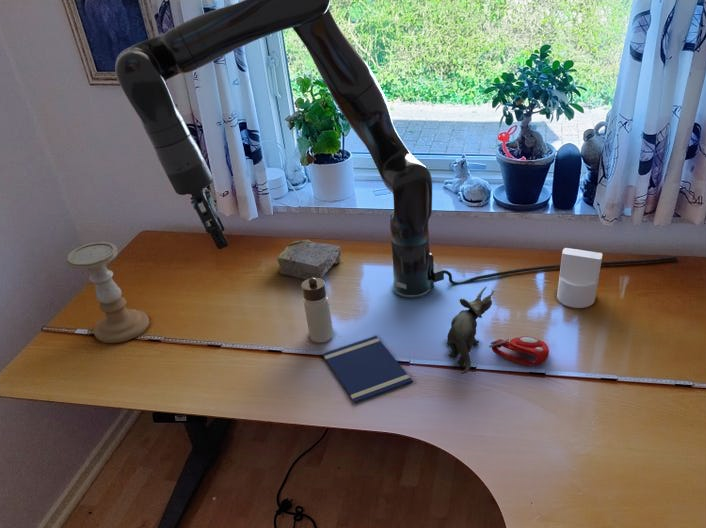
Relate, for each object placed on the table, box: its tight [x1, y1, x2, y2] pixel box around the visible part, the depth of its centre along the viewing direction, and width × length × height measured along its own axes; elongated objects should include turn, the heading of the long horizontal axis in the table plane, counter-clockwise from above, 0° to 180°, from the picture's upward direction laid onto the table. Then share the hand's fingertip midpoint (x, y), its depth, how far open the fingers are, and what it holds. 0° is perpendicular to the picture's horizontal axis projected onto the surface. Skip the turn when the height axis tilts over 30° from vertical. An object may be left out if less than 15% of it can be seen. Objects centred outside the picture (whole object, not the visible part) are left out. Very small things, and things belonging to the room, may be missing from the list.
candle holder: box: [65, 241, 150, 344], centre depth 142 cm, size 12×12×20 cm
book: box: [322, 335, 414, 404], centre depth 133 cm, size 13×18×1 cm
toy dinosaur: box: [446, 286, 495, 375], centre depth 132 cm, size 22×8×11 cm, turn 160°
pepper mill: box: [301, 278, 335, 344], centre depth 138 cm, size 5×5×15 cm
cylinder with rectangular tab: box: [556, 247, 603, 309], centre depth 147 cm, size 9×9×12 cm
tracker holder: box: [488, 336, 550, 367], centre depth 133 cm, size 12×4×10 cm
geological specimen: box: [276, 239, 342, 280], centre depth 165 cm, size 11×6×15 cm
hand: (221, 239), depth 127 cm, fingers open, 8 cm apart
